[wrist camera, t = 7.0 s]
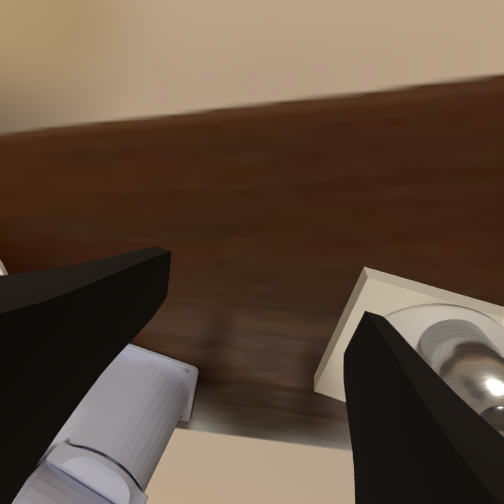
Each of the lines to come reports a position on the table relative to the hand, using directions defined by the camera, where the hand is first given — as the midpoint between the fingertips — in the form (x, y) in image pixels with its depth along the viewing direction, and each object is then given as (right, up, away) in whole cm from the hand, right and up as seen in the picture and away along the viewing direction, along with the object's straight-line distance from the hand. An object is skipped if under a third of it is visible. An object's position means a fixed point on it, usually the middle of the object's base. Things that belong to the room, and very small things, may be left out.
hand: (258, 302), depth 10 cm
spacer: (+12, -4, +7) cm, 15 cm away
